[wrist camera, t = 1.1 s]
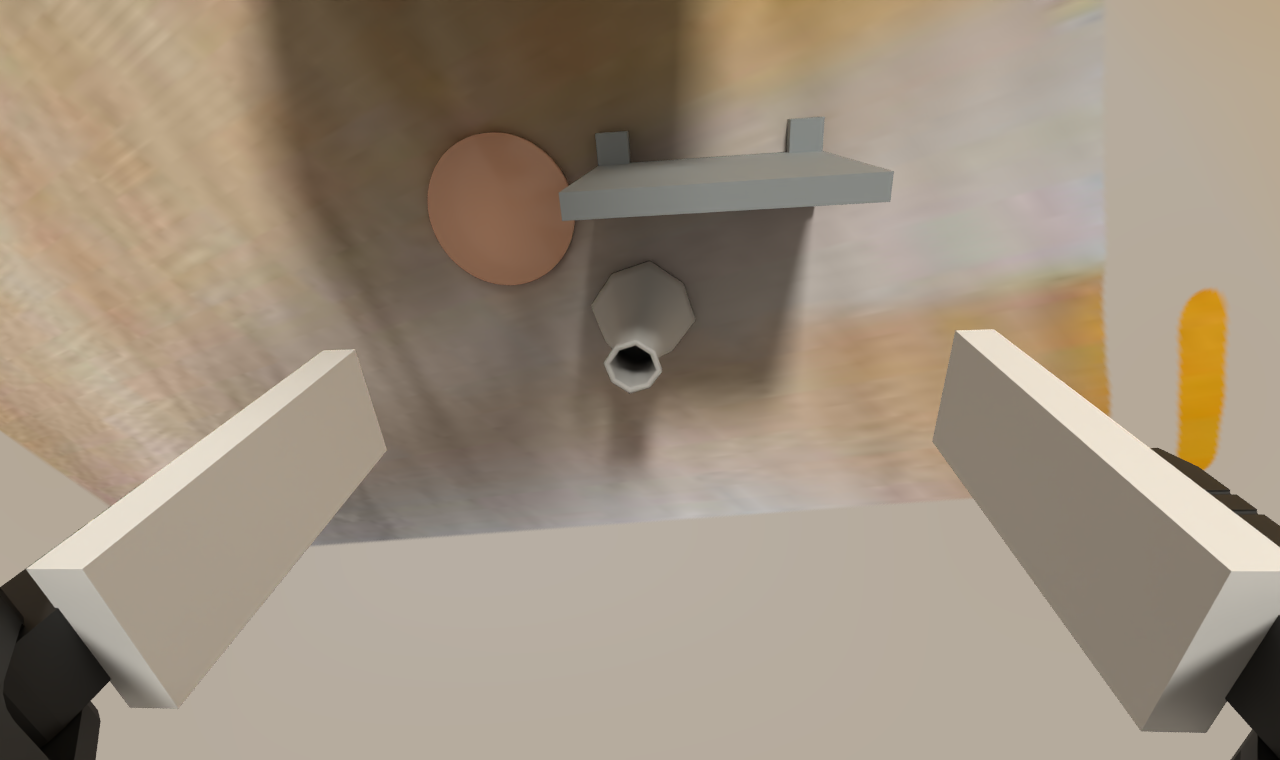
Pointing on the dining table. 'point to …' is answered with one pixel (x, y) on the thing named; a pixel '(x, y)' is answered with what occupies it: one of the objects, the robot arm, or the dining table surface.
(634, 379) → the flask
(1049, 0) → the dining table surface
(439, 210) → the coaster
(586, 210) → the screen
